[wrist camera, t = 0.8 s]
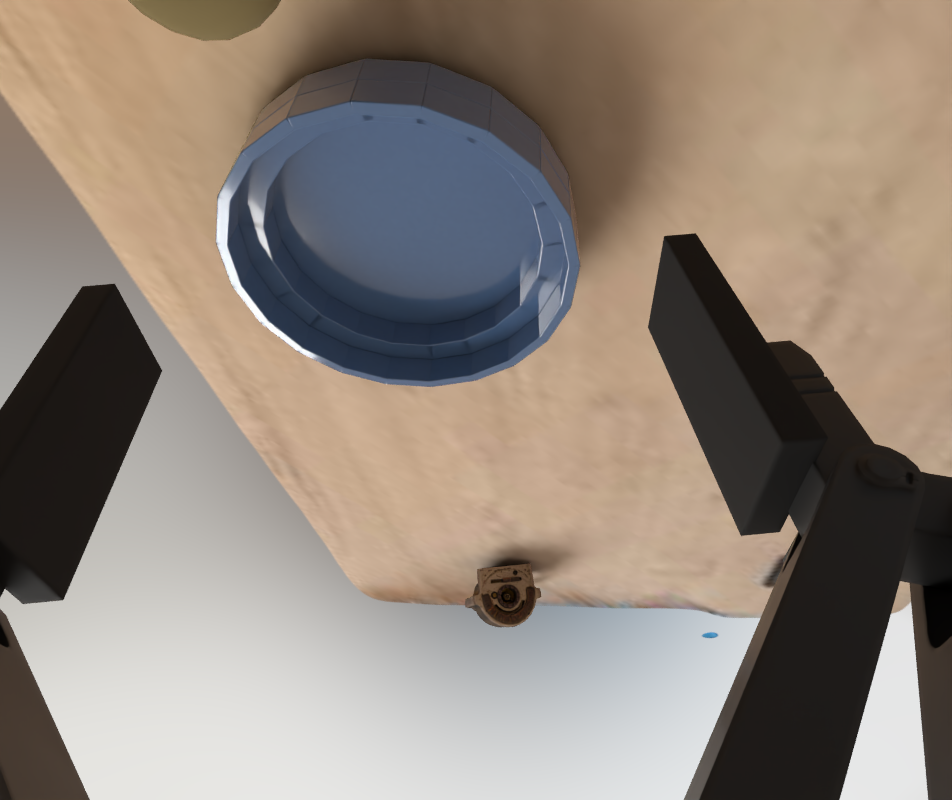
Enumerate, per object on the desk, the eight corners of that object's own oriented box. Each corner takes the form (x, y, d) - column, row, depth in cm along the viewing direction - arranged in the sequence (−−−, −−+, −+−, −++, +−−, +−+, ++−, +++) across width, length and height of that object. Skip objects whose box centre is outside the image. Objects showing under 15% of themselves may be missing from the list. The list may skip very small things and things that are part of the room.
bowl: (195, 38, 28) (158, 88, 25) (605, 64, 28) (613, 117, 25) (281, 325, 42) (264, 376, 39) (550, 342, 42) (552, 395, 39)
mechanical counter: (571, 616, 70) (498, 617, 64) (509, 652, 78) (440, 656, 73) (554, 555, 74) (484, 552, 69) (497, 596, 82) (431, 595, 77)
